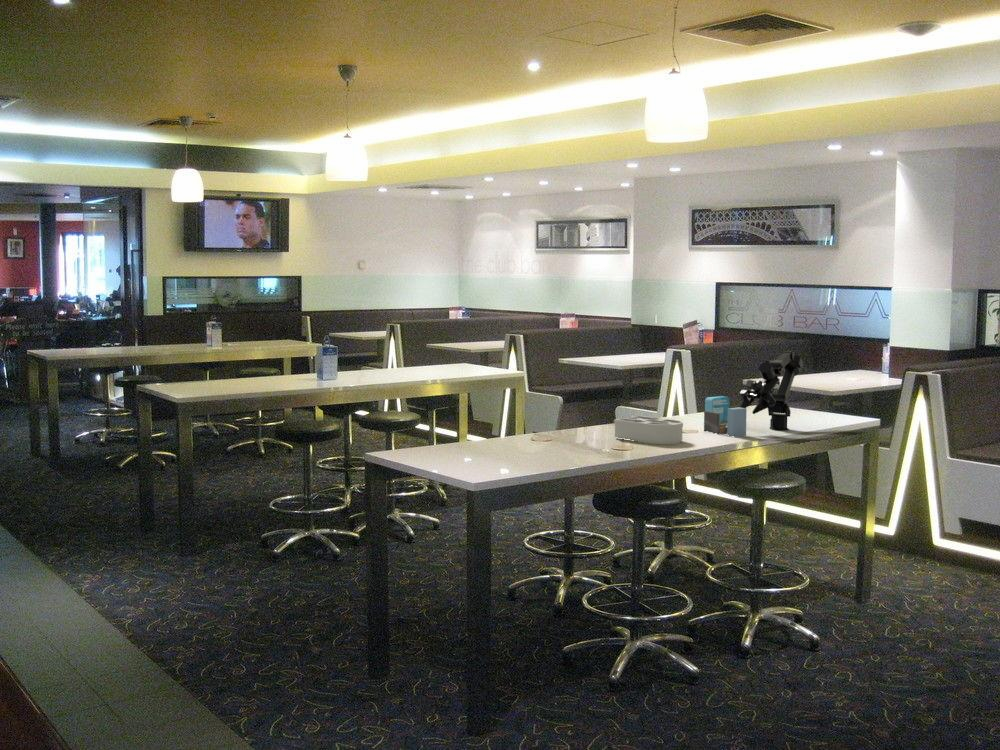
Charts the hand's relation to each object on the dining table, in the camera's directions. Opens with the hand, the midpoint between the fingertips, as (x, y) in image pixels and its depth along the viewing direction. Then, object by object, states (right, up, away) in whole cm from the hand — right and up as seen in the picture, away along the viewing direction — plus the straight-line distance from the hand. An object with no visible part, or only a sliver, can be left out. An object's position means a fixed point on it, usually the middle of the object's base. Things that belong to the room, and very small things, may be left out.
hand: (746, 412), depth 442 cm
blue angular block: (-4, -10, -1) cm, 11 cm away
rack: (-9, -9, +11) cm, 17 cm away
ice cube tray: (-43, -12, -10) cm, 46 cm away
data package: (-4, -6, +40) cm, 41 cm away
